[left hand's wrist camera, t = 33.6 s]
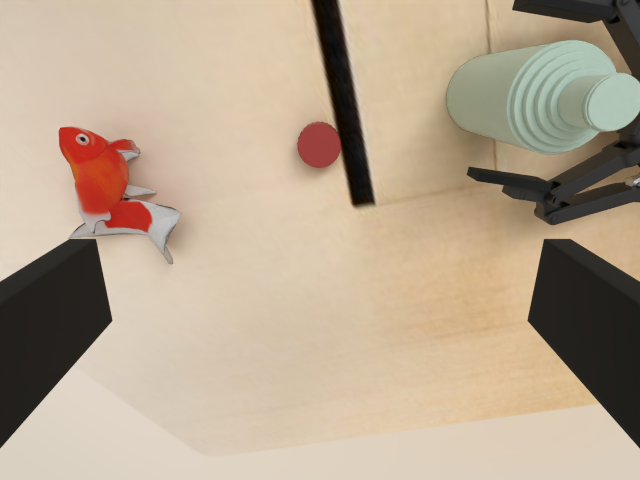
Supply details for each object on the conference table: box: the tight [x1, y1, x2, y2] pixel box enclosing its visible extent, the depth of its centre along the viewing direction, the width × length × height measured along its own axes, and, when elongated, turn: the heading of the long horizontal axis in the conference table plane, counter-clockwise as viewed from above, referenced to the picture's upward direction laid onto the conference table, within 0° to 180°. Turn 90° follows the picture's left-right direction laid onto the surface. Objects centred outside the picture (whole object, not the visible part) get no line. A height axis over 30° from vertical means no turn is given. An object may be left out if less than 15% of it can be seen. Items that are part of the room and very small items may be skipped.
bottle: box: [446, 40, 640, 154], centre depth 31 cm, size 7×7×20 cm
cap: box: [298, 122, 341, 168], centre depth 41 cm, size 4×4×3 cm
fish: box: [59, 127, 181, 264], centre depth 40 cm, size 11×16×10 cm
